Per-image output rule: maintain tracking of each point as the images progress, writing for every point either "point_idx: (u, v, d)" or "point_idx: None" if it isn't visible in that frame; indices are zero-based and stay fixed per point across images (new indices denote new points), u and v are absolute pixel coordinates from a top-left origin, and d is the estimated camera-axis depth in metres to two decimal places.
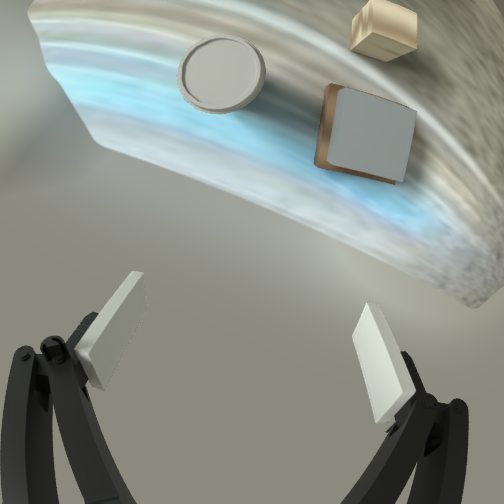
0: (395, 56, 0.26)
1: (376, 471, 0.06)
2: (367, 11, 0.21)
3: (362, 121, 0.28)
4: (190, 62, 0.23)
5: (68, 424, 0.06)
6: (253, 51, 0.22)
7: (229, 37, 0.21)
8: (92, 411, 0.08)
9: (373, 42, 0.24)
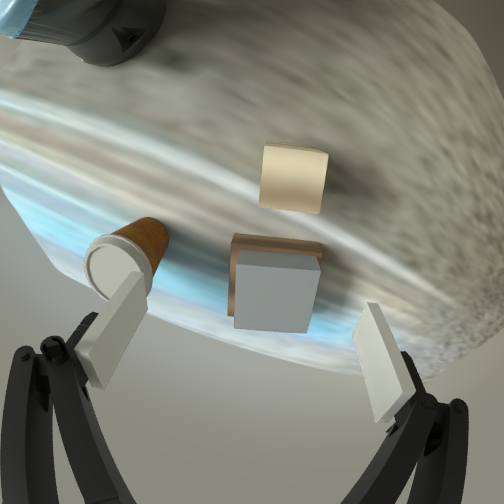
0: None
1: (376, 471, 0.06)
2: None
3: (256, 293, 0.34)
4: (91, 264, 0.29)
5: (68, 424, 0.06)
6: (133, 261, 0.28)
7: (111, 246, 0.27)
8: (92, 411, 0.08)
9: None
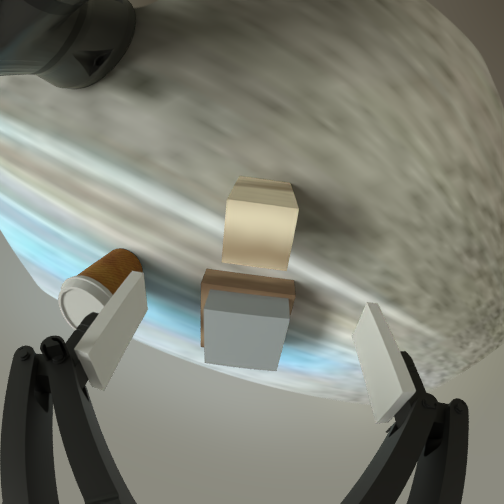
0: None
1: (376, 471, 0.06)
2: None
3: (225, 335, 0.33)
4: (65, 302, 0.27)
5: (68, 424, 0.06)
6: (102, 306, 0.26)
7: (81, 290, 0.26)
8: (92, 411, 0.08)
9: None
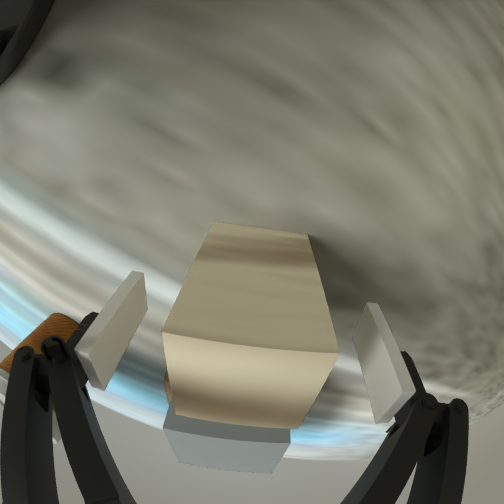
0: None
1: (376, 471, 0.06)
2: None
3: (199, 449, 0.19)
4: None
5: (68, 424, 0.06)
6: None
7: (2, 394, 0.12)
8: (92, 411, 0.08)
9: None
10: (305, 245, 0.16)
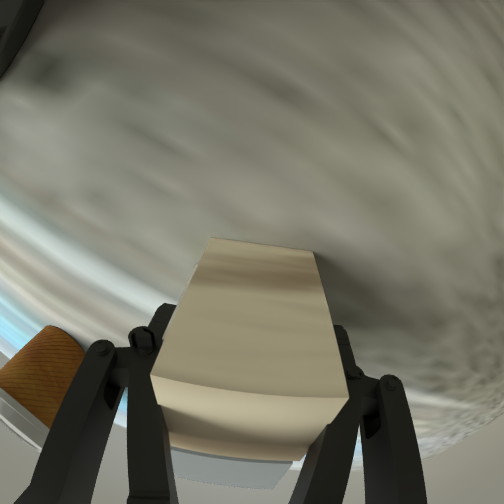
0: None
1: (315, 455, 0.07)
2: None
3: (198, 467, 0.17)
4: None
5: (139, 416, 0.07)
6: (24, 434, 0.11)
7: None
8: None
9: None
10: (310, 265, 0.14)
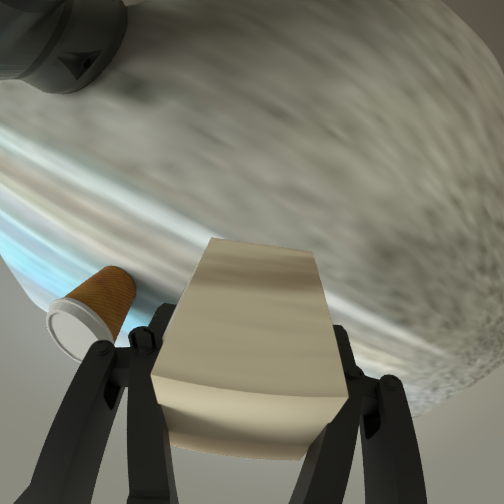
0: None
1: (315, 455, 0.07)
2: None
3: None
4: (53, 325, 0.24)
5: (139, 416, 0.07)
6: (91, 331, 0.23)
7: (68, 314, 0.23)
8: None
9: None
10: (310, 265, 0.14)
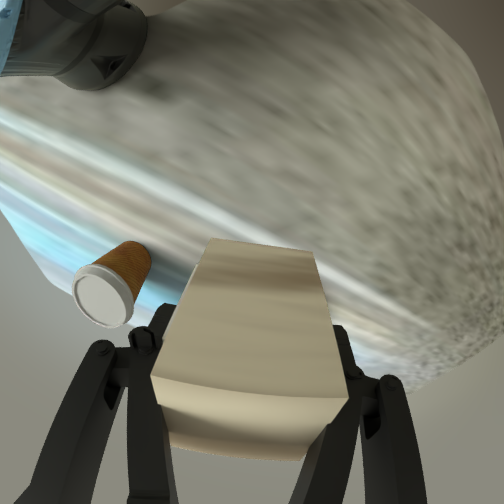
0: None
1: (315, 455, 0.07)
2: None
3: None
4: (78, 290, 0.30)
5: (139, 416, 0.07)
6: (115, 291, 0.29)
7: (95, 277, 0.28)
8: None
9: None
10: (310, 265, 0.14)
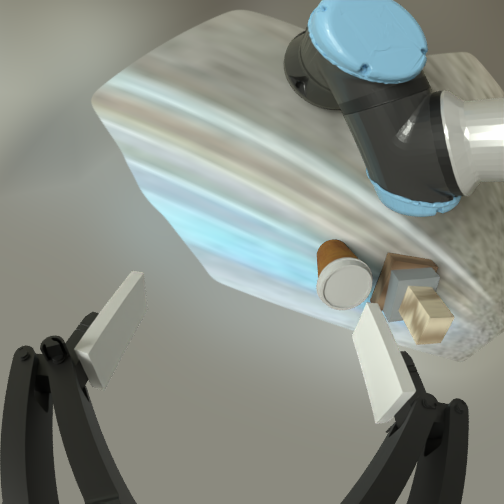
0: None
1: (376, 471, 0.06)
2: (421, 317, 0.39)
3: None
4: (329, 280, 0.41)
5: (68, 424, 0.06)
6: (370, 277, 0.40)
7: (358, 267, 0.39)
8: (92, 411, 0.08)
9: None
10: (434, 291, 0.44)
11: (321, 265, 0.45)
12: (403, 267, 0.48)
